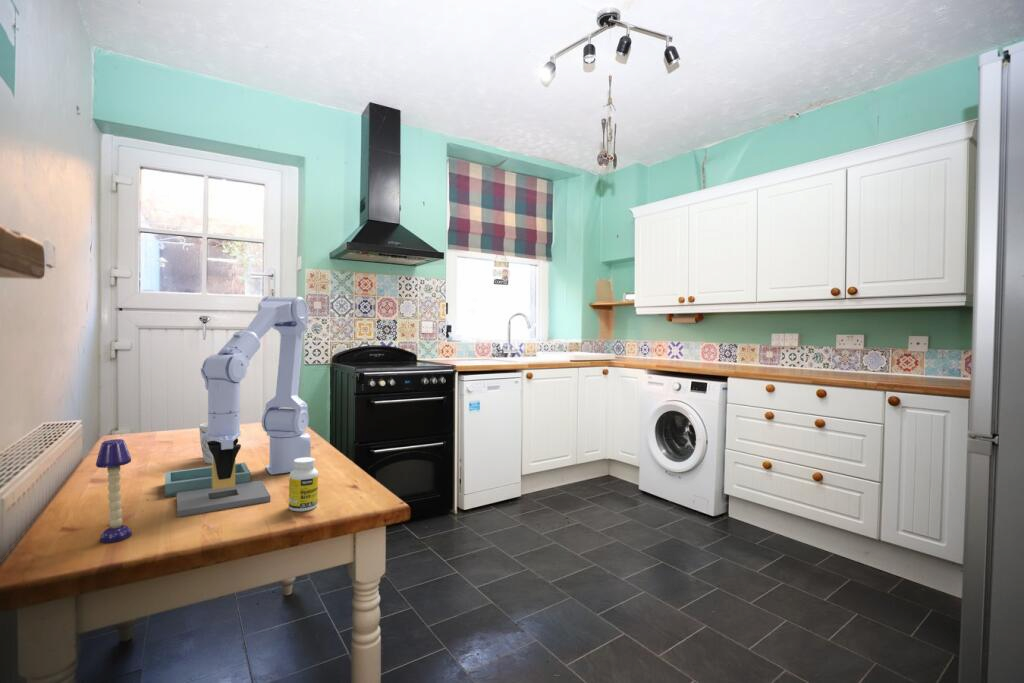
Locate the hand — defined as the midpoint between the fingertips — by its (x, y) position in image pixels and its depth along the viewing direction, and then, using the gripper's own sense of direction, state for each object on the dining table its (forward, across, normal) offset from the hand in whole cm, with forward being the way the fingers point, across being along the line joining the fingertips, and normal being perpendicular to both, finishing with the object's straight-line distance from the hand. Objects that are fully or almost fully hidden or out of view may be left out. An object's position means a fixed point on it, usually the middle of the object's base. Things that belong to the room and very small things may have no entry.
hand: (223, 476), depth 102 cm
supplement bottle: (+5, +13, +13) cm, 19 cm away
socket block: (+5, 0, 0) cm, 5 cm away
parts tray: (+5, -13, -2) cm, 14 cm away
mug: (+5, -36, +1) cm, 36 cm away
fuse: (+2, 0, 0) cm, 2 cm away
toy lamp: (+5, +11, -17) cm, 21 cm away
